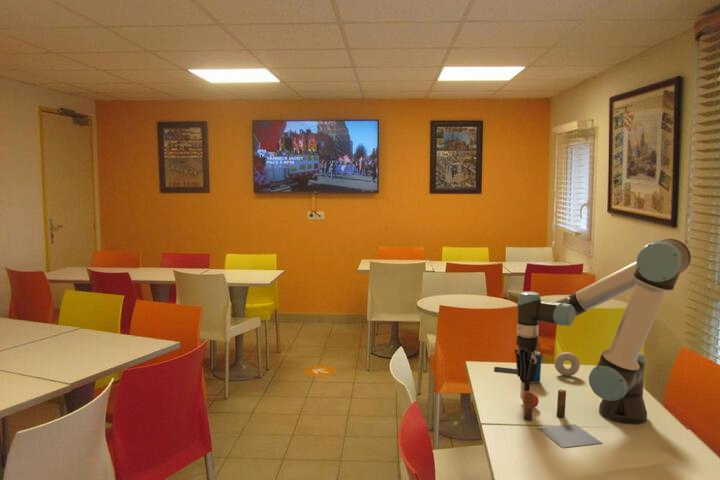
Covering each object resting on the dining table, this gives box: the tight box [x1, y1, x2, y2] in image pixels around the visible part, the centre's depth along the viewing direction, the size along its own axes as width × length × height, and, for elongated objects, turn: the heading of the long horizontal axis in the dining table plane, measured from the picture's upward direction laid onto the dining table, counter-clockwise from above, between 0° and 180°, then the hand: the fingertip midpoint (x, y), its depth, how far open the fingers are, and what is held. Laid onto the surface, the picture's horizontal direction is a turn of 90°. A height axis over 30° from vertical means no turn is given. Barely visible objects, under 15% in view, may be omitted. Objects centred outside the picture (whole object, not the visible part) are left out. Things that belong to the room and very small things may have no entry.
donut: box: [554, 351, 581, 377], centre depth 239 cm, size 10×3×10 cm, turn 75°
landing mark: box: [537, 423, 603, 449], centre depth 183 cm, size 14×14×1 cm
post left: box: [523, 391, 534, 422], centre depth 194 cm, size 3×3×9 cm
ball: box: [522, 391, 540, 409], centre depth 205 cm, size 6×6×6 cm
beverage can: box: [530, 350, 542, 385], centre depth 231 cm, size 6×6×12 cm
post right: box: [556, 389, 567, 419], centre depth 198 cm, size 3×3×9 cm
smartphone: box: [493, 366, 517, 375], centre depth 244 cm, size 7×1×14 cm
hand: (524, 398), depth 209 cm, fingers closed
